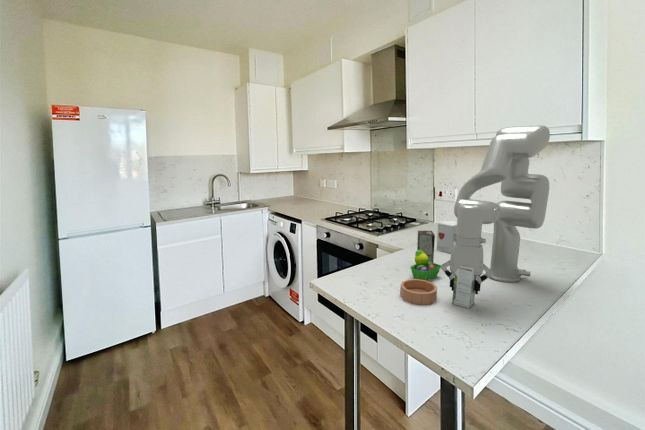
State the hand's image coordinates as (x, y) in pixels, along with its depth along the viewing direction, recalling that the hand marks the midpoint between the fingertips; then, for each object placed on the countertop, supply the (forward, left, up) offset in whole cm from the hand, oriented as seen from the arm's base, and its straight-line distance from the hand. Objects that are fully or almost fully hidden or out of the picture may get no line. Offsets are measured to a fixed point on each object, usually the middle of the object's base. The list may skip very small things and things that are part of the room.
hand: (464, 290), depth 109 cm
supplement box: (+7, -60, -5) cm, 61 cm away
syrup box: (0, 0, -5) cm, 5 cm away
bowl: (+15, 0, -5) cm, 16 cm away
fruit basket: (+15, -19, -5) cm, 25 cm away
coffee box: (+16, -31, -5) cm, 35 cm away
